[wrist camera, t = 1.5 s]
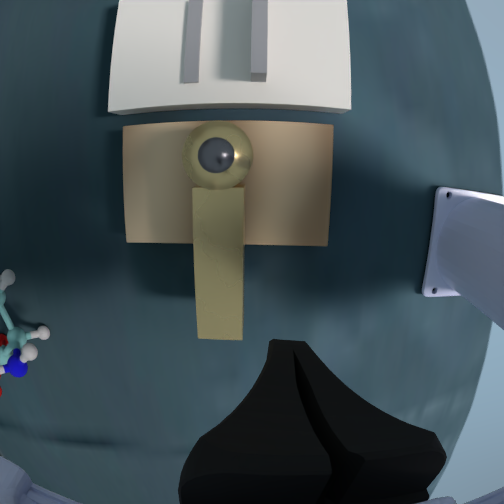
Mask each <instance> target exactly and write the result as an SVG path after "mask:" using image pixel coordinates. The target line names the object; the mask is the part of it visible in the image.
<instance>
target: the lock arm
mask: <svg viewBox="0 0 504 504" xmlns="http://www.w3.org/2000/svg"><path fill="white" fill-rule="evenodd" d="M182 162H183V166H184V169H185V171H186V173H187V175H188V176H189V177H190V179H191V180H192V181H193V182H195V183H196V184H197V186H195V187H193V188H192V205H193V247H194V274H195V295H196V313H197V329H198V338H200V339H222V340H242V338H243V324H244V253H245V184H238V183H240V182H241V181H242V180H243V179H244V178H245V176H246V175H247V174H248V172H249V170H250V168H251V166H252V163H253V148H252V145H251V142H250V140H249V138H248V136H247V135H246V133H245V132H244V131H243V130H242V129H241V128H239V127H238V126H236V125H235V124H233V123H230V122H227V121H220V120H216V121H209V122H206V123H203V124H201V125H200V126H198V127H197V128H195V129H194V130H193V131H192V132H191V133H190V134H189V136H188V137H187V139H186V141H185V143H184V146H183V150H182Z"/></svg>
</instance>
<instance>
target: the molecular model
mask: <svg viewBox="0 0 504 504" xmlns="http://www.w3.org/2000/svg"><path fill="white" fill-rule="evenodd" d="M14 282H15V274H14V272H13V271H12V270H10V269H6V270H4V271H3V273H2V275H0V313H1V315H2V317H3V319H4V321H5V323H6V325H7V327H8V329H9V331H8V334H7V336H6V335H4V334H0V377H1V374H3V373H7V372H10V373H11V374H12V375H13V376H14V377H22V376H24V375H25V374H26V372H27V368H28V366H27V363H26V362H27V361H28V360H34V359H35V358H36V357H37V353H38V352H37V348H36V346H35V345H34V344H32V343H26V341H27V340H28V339H32V338H37V337H39V338H40V339H42V340H45V339H48V338H49V336H50V331H49V329H48V327H46V326H40V327H39V328H38V329H37V330H36V331H30V332H24V330H23V329H21V328H19V327H15V326H14V325H13V323H12V321H11V319H10V317H9V315H8V313H7V311H6V308H5V306H4V303H5V300H6V294H5V291H4V290H5V288H6V287H7V285H12V284H13V283H14ZM20 348H22V354H21V355H20ZM12 349H13V355H12V356H11V353H10V352H11V351H12ZM1 394H2V389H1V387H0V396H1Z"/></svg>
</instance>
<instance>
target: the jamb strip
mask: <svg viewBox="0 0 504 504" xmlns="http://www.w3.org/2000/svg"><path fill="white" fill-rule="evenodd" d="M206 122H209V121H188V122H169V123H154V124H142V125H131V126H123V188H124V211H125V227H126V241H127V242H130V243H193V205H192V188H193V187H195V186H197V184H196V183H195V182H193V181H192V180H191V179H190V177H189V176H188V175H187V173H186V171H185V169H184V166H183V162H182V150H183V146H184V143H185V141H186V139H187V137H188V136H189V134H190V133H191V132H192V131H193V130H194V129H195V128H197V127H198V126H200V125H201V124H203V123H206ZM227 122H230V123H233V124H235V125H236V126H238V127H239V128H241V129H242V130H243V131H244V132H245V133H246V135H247V136H248V138H249V140H250V142H251V145H252V148H253V163H252V166H251V168H250V170H249V172H248V174H247V175H246V176H245V178H244V179H243V180H242V181H241V182H240V183H238V184H245V244H250V245H298V246H328V234H329V220H330V204H331V185H332V161H333V125H329V124H316V123H301V122H282V121H227Z"/></svg>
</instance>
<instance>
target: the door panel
mask: <svg viewBox="0 0 504 504" xmlns="http://www.w3.org/2000/svg"><path fill="white" fill-rule="evenodd" d="M225 108H249V109H284V110H302V111H316V112H328V113H338V114H343V113H345V112H347V111H349V110H351V69H350V43H349V26H348V12H347V0H119V6H118V12H117V19H116V26H115V33H114V41H113V50H112V60H111V71H110V84H109V100H108V112H111V113H115V114H118V115H127V114H136V113H147V112H158V111H172V110H190V109H225Z"/></svg>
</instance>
